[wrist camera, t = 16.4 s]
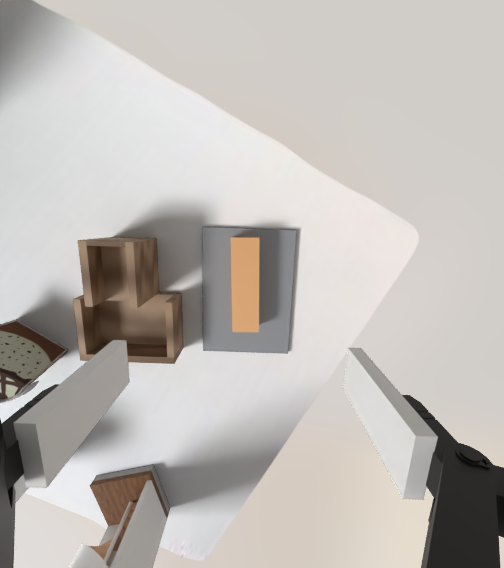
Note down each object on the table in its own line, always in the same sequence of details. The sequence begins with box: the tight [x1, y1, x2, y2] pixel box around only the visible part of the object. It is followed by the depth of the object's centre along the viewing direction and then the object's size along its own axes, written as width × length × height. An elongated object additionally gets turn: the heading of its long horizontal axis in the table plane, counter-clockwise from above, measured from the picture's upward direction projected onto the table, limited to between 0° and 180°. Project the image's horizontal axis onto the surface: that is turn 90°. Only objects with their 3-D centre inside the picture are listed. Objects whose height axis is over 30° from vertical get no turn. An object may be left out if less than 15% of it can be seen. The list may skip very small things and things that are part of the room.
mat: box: [202, 227, 296, 354], centre depth 42 cm, size 20×14×1 cm
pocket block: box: [73, 237, 183, 364], centre depth 38 cm, size 18×14×8 cm
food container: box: [0, 319, 68, 403], centre depth 39 cm, size 12×6×10 cm, turn 55°
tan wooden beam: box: [231, 237, 259, 332], centre depth 39 cm, size 14×4×3 cm, turn 0°
